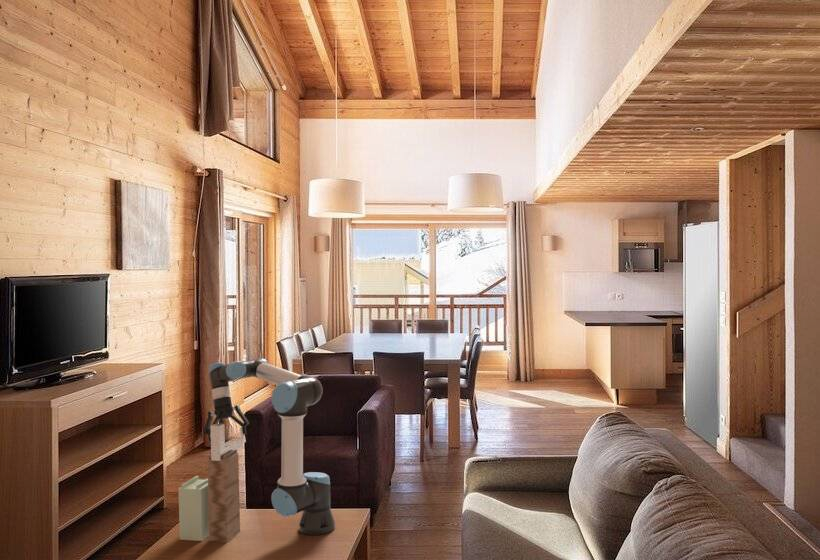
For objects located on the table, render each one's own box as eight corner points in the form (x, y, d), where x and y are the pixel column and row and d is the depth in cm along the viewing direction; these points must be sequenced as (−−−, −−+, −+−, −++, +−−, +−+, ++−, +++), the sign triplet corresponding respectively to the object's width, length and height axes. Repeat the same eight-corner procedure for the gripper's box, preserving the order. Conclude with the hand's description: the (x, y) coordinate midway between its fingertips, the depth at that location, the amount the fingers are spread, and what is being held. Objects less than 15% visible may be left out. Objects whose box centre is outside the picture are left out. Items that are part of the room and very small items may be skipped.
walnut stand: (240, 531, 272) (238, 449, 272) (227, 542, 261) (225, 456, 261) (222, 530, 274) (220, 448, 274) (209, 540, 263) (207, 456, 263)
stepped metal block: (234, 447, 281) (233, 415, 281) (243, 447, 281) (242, 415, 281) (211, 460, 262) (210, 425, 262) (220, 460, 261) (219, 426, 261)
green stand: (216, 529, 275) (215, 476, 275) (202, 541, 263) (200, 485, 263) (195, 528, 277) (193, 475, 277) (179, 539, 265) (178, 484, 265)
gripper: (251, 391, 292) (259, 439, 287) (198, 403, 293) (205, 451, 289) (245, 391, 284) (253, 440, 280) (191, 403, 286) (198, 452, 281)
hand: (229, 445), depth 284 cm, fingers open, 13 cm apart
